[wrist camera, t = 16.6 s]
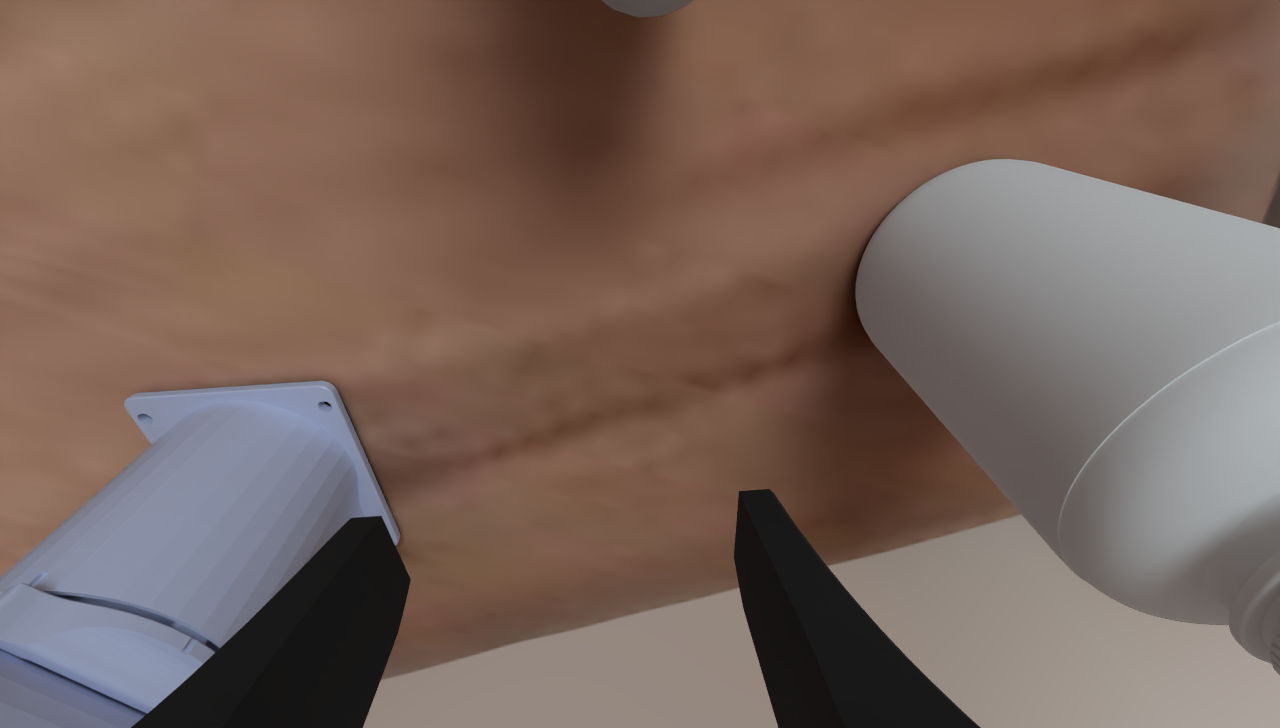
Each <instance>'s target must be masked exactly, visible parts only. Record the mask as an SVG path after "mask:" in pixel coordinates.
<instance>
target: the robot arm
mask: <svg viewBox="0 0 1280 728" xmlns="http://www.w3.org/2000/svg"><path fill="white" fill-rule="evenodd" d="M323 401H324V402H328V403H330V404H331V406H328V405H326V404H325V403H324V402H323ZM124 406H125V408H126V410H127V411H128V413H129V414H130V415H131V417H132V418H133V420H134V421H135V422H136V424H137V425H138V427H139V428H140V429H141V431H142V432H143V433H144V435H145V436H146V438H147V439H148V440H149V442H150V443H151V446H150V447H149V448H148V449H146V450H145V451H144V452H143V453H142V454H141V455H140V456H138V457H137V458H136V459H135V460H134V461H133V462H132V463H130V464H129V465H128V466H127V467H126V468H125V469H124V470H122V471H121V472H120V473H119V474H118V475H117V476H116V477H114V478H113V479H112V480H111V481H110V482H109V483H108V484H106V485H105V486H104V487H103V488H102V489H101V490H100V491H98V492H97V493H96V494H95V495H94V496H93V497H92V498H90V499H89V500H88V501H87V502H86V503H85V504H84V505H83V506H81V507H80V508H79V509H78V510H77V511H76V512H75V513H73V514H72V515H71V516H70V517H69V518H68V519H67V520H65V521H64V522H63V523H62V524H61V525H60V526H59V527H57V528H56V529H55V530H54V531H53V532H52V533H51V534H49V535H48V536H47V537H46V538H45V539H44V540H43V541H41V542H40V543H39V544H38V545H37V546H36V547H35V548H33V549H32V550H31V551H30V552H29V553H28V554H27V555H25V556H24V557H23V558H22V559H21V560H20V561H19V562H17V563H16V564H15V565H14V566H13V567H12V568H11V569H9V570H8V571H7V572H6V573H5V574H4V575H3V576H1V577H0V728H363V725H364V722H365V720H366V717H367V715H368V712H369V709H370V707H371V704H372V701H373V698H374V696H375V693H376V691H377V688H378V685H379V682H380V680H381V677H382V675H383V672H384V669H385V667H386V664H387V661H388V658H389V656H390V653H391V650H392V648H393V645H394V642H395V639H396V636H397V634H398V630H399V626H400V622H401V619H402V615H403V611H404V607H405V602H406V598H407V594H408V589H409V585H410V580H411V579H410V577H409V575H408V573H407V571H406V568H405V566H404V564H403V562H402V560H401V557H400V555H399V553H398V551H397V549H396V546H395V545H397V544H398V542H399V540H400V537H401V536H400V532H399V530H398V528H397V526H396V523H395V521H394V519H393V517H392V514H391V512H390V510H389V507H388V505H387V503H386V501H385V498H384V496H383V494H382V491H381V489H380V487H379V485H378V482H377V480H376V478H375V475H374V473H373V471H372V469H371V466H370V464H369V462H368V459H367V457H366V455H365V453H364V450H363V448H362V446H361V443H360V441H359V439H358V437H357V434H356V432H355V430H354V427H353V425H352V423H351V421H350V418H349V416H348V414H347V411H346V409H345V407H344V405H343V402H342V400H341V398H340V395H339V393H338V391H337V389H336V388H335V387H334V386H333V385H332V384H330V383H328V382H325V381H311V382H296V383H281V384H266V385H251V386H237V387H222V388H207V389H192V390H177V391H162V392H147V393H136V394H133V395H132V396H130V397H129V398H128V399H126V400H125V402H124ZM148 415H149V416H148ZM734 560H735V566H736V571H737V577H738V582H739V588H740V592H741V598H742V603H743V608H744V612H745V615H746V619H747V622H748V626H749V629H750V632H751V636H752V639H753V643H754V646H755V650H756V653H757V656H758V659H759V663H760V667H761V670H762V673H763V677H764V680H765V684H766V687H767V690H768V694H769V697H770V701H771V704H772V707H773V711H774V714H775V718H776V720H777V724H778V728H980V727H979V726H978V725H977V724H976V723H975V722H974V721H972V720H971V719H970V718H969V717H968V716H967V715H966V714H965V713H964V712H962V710H961V709H959V708H958V707H957V706H956V705H955V704H954V703H953V702H952V701H951V700H950V699H949V698H948V697H947V696H946V695H945V694H944V693H943V692H942V691H941V690H940V689H939V688H938V687H936V686H935V685H934V684H933V683H932V682H931V681H930V680H929V679H928V678H927V677H926V676H925V675H924V674H923V673H922V672H921V671H920V670H919V669H918V668H917V667H916V666H915V665H914V664H913V663H912V662H911V661H910V660H909V659H908V658H907V657H906V656H905V654H904V653H903V652H902V651H901V650H900V649H899V648H898V647H897V646H896V645H895V644H894V643H893V642H892V641H891V640H890V639H889V638H888V637H887V635H886V634H885V633H884V632H883V631H882V630H881V629H880V628H879V627H878V626H877V624H876V623H875V622H874V621H873V620H872V619H871V618H870V617H869V615H868V614H867V613H866V612H865V611H864V610H863V609H862V608H861V607H860V605H859V604H858V603H857V602H856V601H855V599H854V598H853V597H852V596H851V595H850V594H849V592H848V591H847V590H846V589H845V588H844V586H843V585H842V584H841V583H840V582H839V580H838V579H837V578H836V577H835V575H834V574H833V573H832V572H831V571H830V569H829V568H828V567H827V565H826V564H825V563H824V562H823V561H822V559H821V558H820V557H819V555H818V554H817V553H816V552H815V550H814V549H813V548H812V546H811V545H810V544H809V542H808V541H807V540H806V538H805V537H804V536H803V534H802V533H801V532H800V530H799V529H798V527H797V526H796V525H795V523H794V522H793V520H792V519H791V518H790V516H789V515H788V513H787V512H786V510H785V509H784V507H783V506H782V505H781V503H780V502H779V500H778V499H777V497H776V496H775V494H774V493H773V492H772V491H771V490H770V489H765V490H750V491H739V500H738V512H737V525H736V537H735V550H734Z"/></svg>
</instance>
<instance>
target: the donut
mask: <svg viewBox="0 0 1280 728" xmlns="http://www.w3.org/2000/svg"><path fill="white" fill-rule="evenodd" d="M602 1H603V2H604V3H605V4H607V5H608V6H609V7H611V8H612V9H613V10H616V11H619V12H622V13H625V14H628V15H632V16H635V17H656V16H665V15H667V14H669V13H671V12H673V11H676V10H678V9H680V8H682V7H684V6H687V5H688V4H689V3H690V2H691V1H692V0H602Z"/></svg>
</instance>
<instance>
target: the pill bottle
mask: <svg viewBox="0 0 1280 728" xmlns="http://www.w3.org/2000/svg"><path fill="white" fill-rule="evenodd" d="M855 297H856V306H857V311H858V315H859V318H860V321H861V323H862V325H863V327H864V329H865V331H866V333H867V334H868V336H869V338H870V339H871V341H872V342H873V344H874V345H875V346H876V348H877V349H878V350H879V351H880V352H881V353H882V354H883V356H884V357H885V358H886V359H887V360H888V361H889V362H890V364H891V365H892V366H893V367H894V368H895V369H896V371H897V372H898V373H899V374H900V375H901V376H902V377H903V379H904V380H905V381H906V382H907V383H908V384H909V385H910V387H911V388H912V389H913V390H914V391H915V392H916V394H917V395H918V396H919V397H920V398H921V399H922V400H923V402H924V403H925V404H926V405H927V406H928V407H929V408H930V410H931V411H932V412H933V413H934V414H935V415H936V417H937V418H938V419H939V420H940V421H941V422H942V423H943V425H944V426H945V427H946V428H947V429H948V430H949V431H950V433H951V434H952V435H953V436H954V437H955V438H956V440H957V441H958V442H959V443H960V444H961V445H962V446H963V448H964V449H965V450H966V451H967V452H968V453H969V454H970V456H971V457H972V458H973V459H974V460H975V461H976V463H977V464H978V465H979V466H980V467H981V468H982V469H983V471H984V472H985V473H986V474H987V475H988V476H989V477H990V479H991V480H992V481H993V482H994V483H995V484H996V486H997V487H998V488H999V489H1000V490H1001V491H1002V492H1003V494H1004V495H1005V496H1006V497H1007V498H1008V499H1009V500H1010V502H1011V503H1012V504H1013V505H1014V506H1015V507H1016V509H1017V510H1018V511H1019V512H1020V513H1021V514H1022V515H1023V517H1024V518H1025V519H1026V520H1027V521H1028V522H1029V523H1030V525H1031V526H1032V527H1033V528H1034V529H1035V530H1036V532H1037V533H1038V534H1039V535H1040V536H1041V537H1042V538H1043V540H1045V542H1046V543H1047V544H1048V545H1049V546H1050V548H1051V549H1052V550H1053V551H1054V552H1055V553H1056V554H1057V555H1058V556H1059V558H1060V559H1061V560H1062V561H1063V562H1064V563H1065V564H1066V565H1067V566H1068V567H1069V568H1070V569H1071V570H1072V571H1073V572H1074V573H1075V574H1076V575H1078V576H1079V577H1080V578H1082V579H1083V580H1085V581H1086V582H1088V583H1089V584H1091V585H1092V586H1093V587H1095V588H1096V589H1098V590H1099V591H1101V592H1102V593H1104V594H1105V595H1107V596H1109V597H1110V598H1112V599H1114V600H1116V601H1118V602H1120V603H1122V604H1124V605H1126V606H1128V607H1130V608H1133V609H1135V610H1138V611H1140V612H1143V613H1146V614H1149V615H1153V616H1157V617H1161V618H1165V619H1170V620H1174V621H1180V622H1188V623H1196V624H1209V625H1229V627H1230V631H1231V633H1232V635H1233V637H1234V638H1235V640H1236V641H1237V642H1238V643H1239V644H1240V645H1241V646H1242V647H1243V648H1244V649H1245V650H1246V651H1247V652H1249V653H1250V654H1251V655H1253V656H1255V657H1256V658H1258V659H1261V660H1263V661H1266V662H1269V663H1271V664H1272V665H1273V668H1274V669H1275V670H1276V671H1277V673H1278V674H1279V675H1280V229H1279V228H1276V227H1272V226H1268V225H1265V224H1261V223H1258V222H1254V221H1250V220H1247V219H1243V218H1239V217H1236V216H1232V215H1228V214H1225V213H1221V212H1217V211H1214V210H1210V209H1206V208H1203V207H1199V206H1195V205H1192V204H1188V203H1184V202H1180V201H1177V200H1173V199H1169V198H1166V197H1162V196H1158V195H1155V194H1151V193H1147V192H1144V191H1140V190H1136V189H1133V188H1129V187H1125V186H1122V185H1118V184H1114V183H1111V182H1107V181H1103V180H1100V179H1096V178H1092V177H1089V176H1085V175H1081V174H1078V173H1074V172H1070V171H1067V170H1063V169H1059V168H1056V167H1052V166H1048V165H1045V164H1041V163H1037V162H1031V161H1021V160H1012V159H994V160H985V161H979V162H974V163H970V164H967V165H963V166H960V167H957V168H955V169H952V170H949V171H947V172H945V173H943V174H941V175H939V176H937V177H935V178H933V179H931V180H930V181H928V182H926V183H925V184H923V185H922V186H920V187H919V188H917V189H916V190H914V191H913V192H912V193H910V194H909V195H908V196H907V197H906V198H904V199H903V200H902V201H901V202H900V203H899V204H898V205H897V206H896V207H895V208H894V209H893V210H892V211H891V212H890V213H889V214H888V215H887V217H886V218H885V219H884V220H883V221H882V223H881V224H880V225H879V227H878V228H877V230H876V231H875V233H874V234H873V236H872V238H871V239H870V241H869V243H868V245H867V247H866V249H865V252H864V254H863V256H862V259H861V262H860V265H859V269H858V273H857V279H856V289H855Z"/></svg>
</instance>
